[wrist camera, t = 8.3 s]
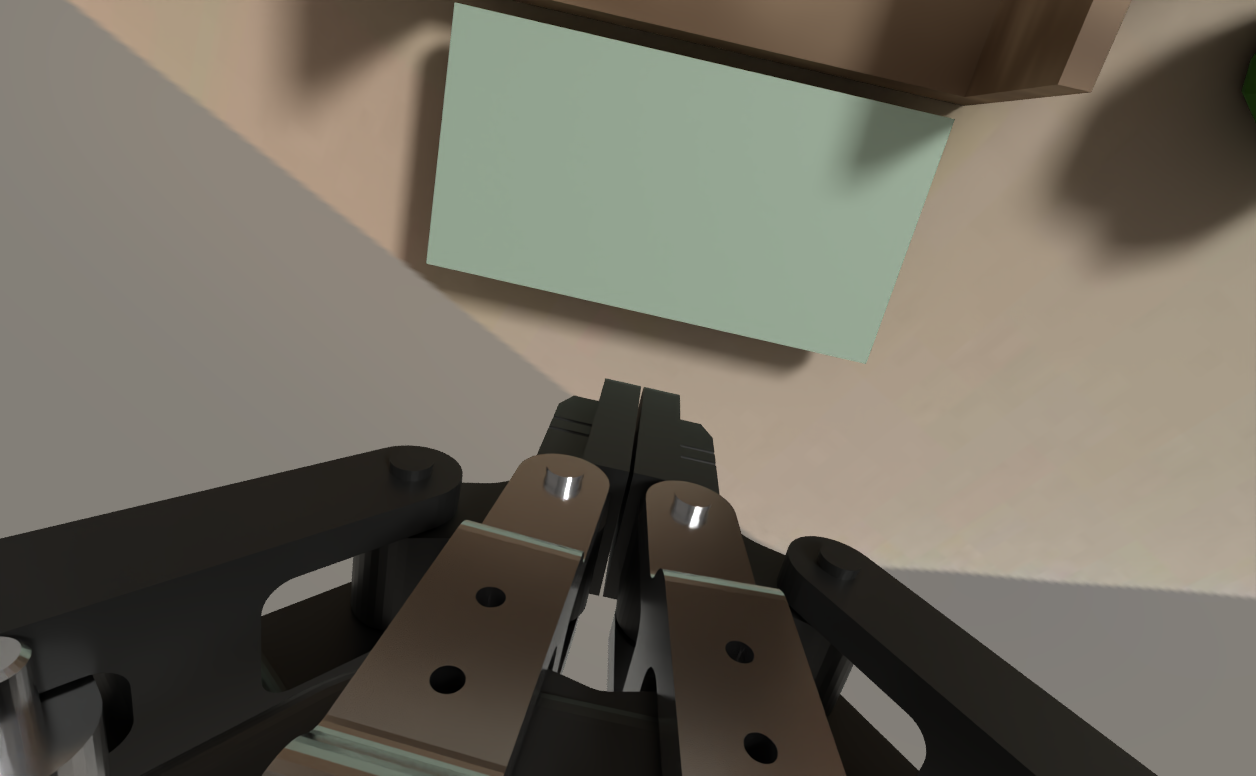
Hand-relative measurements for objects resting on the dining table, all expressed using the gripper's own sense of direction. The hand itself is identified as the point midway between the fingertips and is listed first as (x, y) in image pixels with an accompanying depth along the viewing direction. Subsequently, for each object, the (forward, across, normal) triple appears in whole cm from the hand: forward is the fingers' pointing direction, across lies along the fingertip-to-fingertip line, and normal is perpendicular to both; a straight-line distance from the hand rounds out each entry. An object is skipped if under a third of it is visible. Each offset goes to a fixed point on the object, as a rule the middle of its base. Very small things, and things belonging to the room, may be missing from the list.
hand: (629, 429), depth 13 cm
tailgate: (+16, 0, -8) cm, 18 cm away
